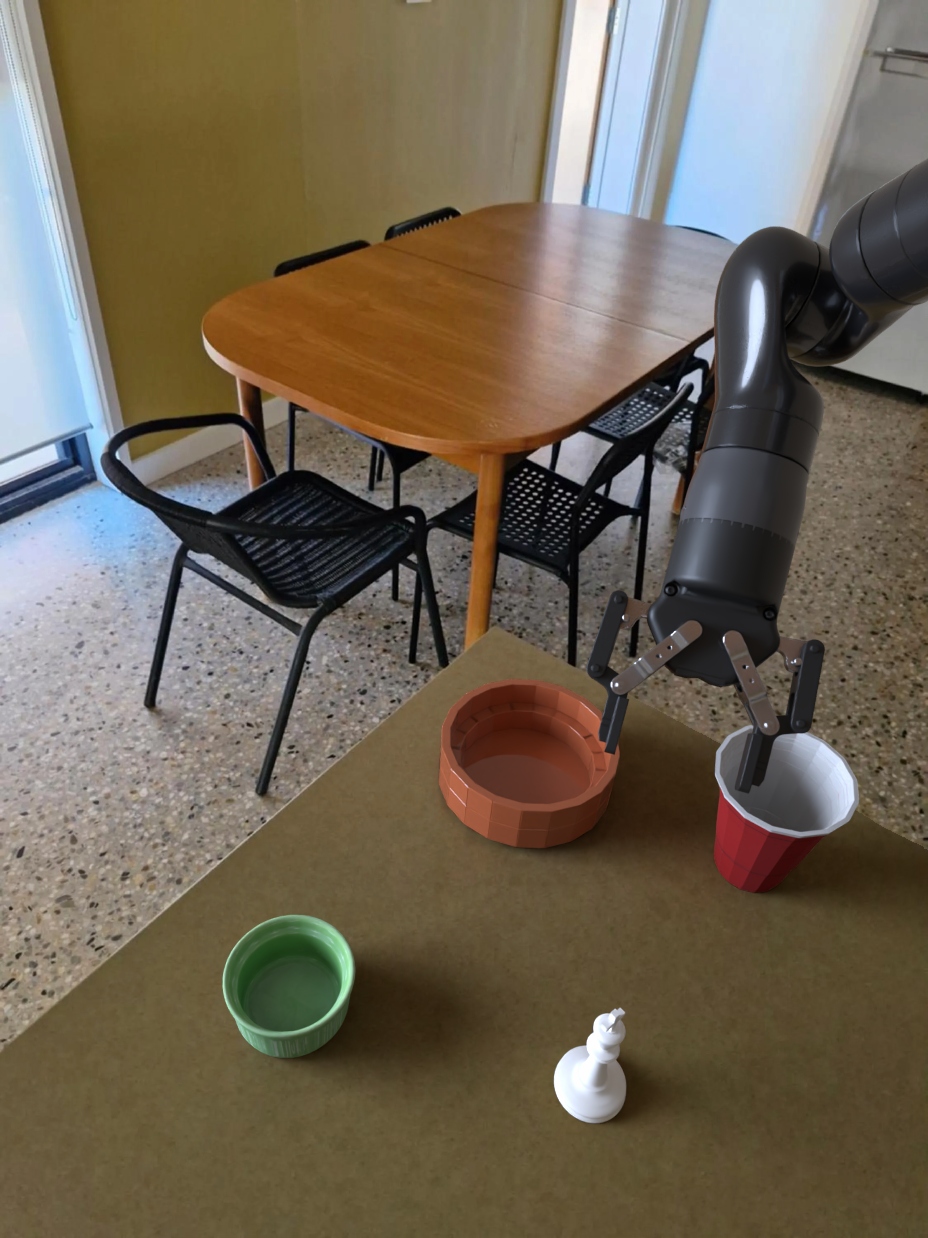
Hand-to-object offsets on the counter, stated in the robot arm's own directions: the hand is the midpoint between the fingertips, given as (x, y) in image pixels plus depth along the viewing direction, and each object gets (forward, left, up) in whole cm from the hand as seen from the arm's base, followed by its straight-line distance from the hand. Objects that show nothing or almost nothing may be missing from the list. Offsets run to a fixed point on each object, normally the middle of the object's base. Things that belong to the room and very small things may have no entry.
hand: (674, 772), depth 57 cm
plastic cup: (-5, -13, -20) cm, 24 cm away
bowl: (+15, -9, -20) cm, 26 cm away
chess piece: (-3, +11, -20) cm, 23 cm away
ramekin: (+17, +19, -20) cm, 32 cm away
